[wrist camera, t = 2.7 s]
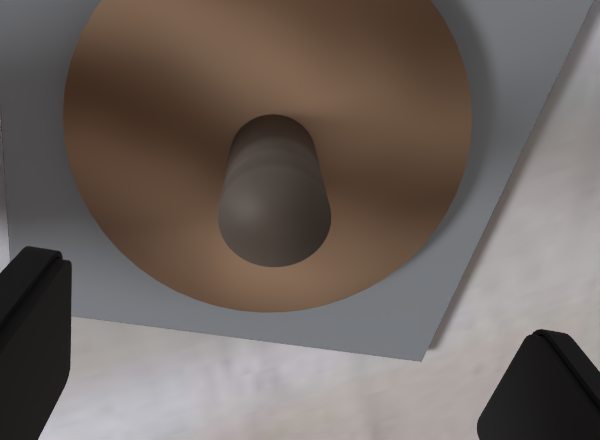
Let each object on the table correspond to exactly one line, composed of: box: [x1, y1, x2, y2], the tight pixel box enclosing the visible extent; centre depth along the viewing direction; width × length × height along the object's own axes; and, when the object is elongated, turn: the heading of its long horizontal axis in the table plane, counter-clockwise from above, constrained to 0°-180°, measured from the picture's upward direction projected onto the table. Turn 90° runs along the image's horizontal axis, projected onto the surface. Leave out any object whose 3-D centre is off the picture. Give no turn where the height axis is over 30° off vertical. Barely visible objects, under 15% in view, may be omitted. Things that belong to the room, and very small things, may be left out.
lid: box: [63, 0, 472, 313], centre depth 16 cm, size 15×15×6 cm
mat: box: [0, 0, 594, 362], centre depth 19 cm, size 20×20×1 cm
